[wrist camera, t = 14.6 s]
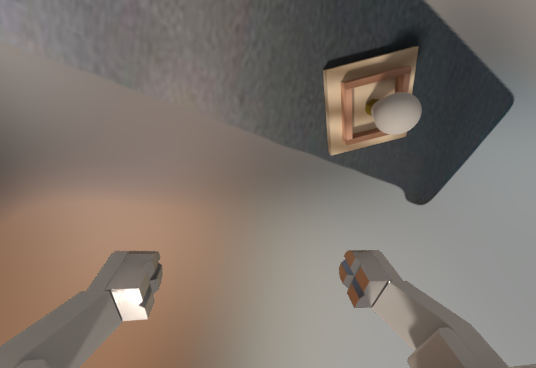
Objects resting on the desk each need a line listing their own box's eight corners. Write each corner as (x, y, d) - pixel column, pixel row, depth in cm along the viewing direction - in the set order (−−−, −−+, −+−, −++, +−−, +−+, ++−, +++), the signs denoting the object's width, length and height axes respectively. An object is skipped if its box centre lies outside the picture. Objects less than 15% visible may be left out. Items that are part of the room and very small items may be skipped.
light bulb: (391, 107, 37) (438, 119, 28) (363, 129, 38) (399, 148, 30) (377, 79, 34) (424, 84, 26) (347, 105, 36) (383, 117, 27)
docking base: (322, 70, 34) (331, 70, 31) (411, 46, 34) (428, 45, 31) (328, 152, 41) (335, 159, 38) (400, 134, 41) (413, 139, 38)
